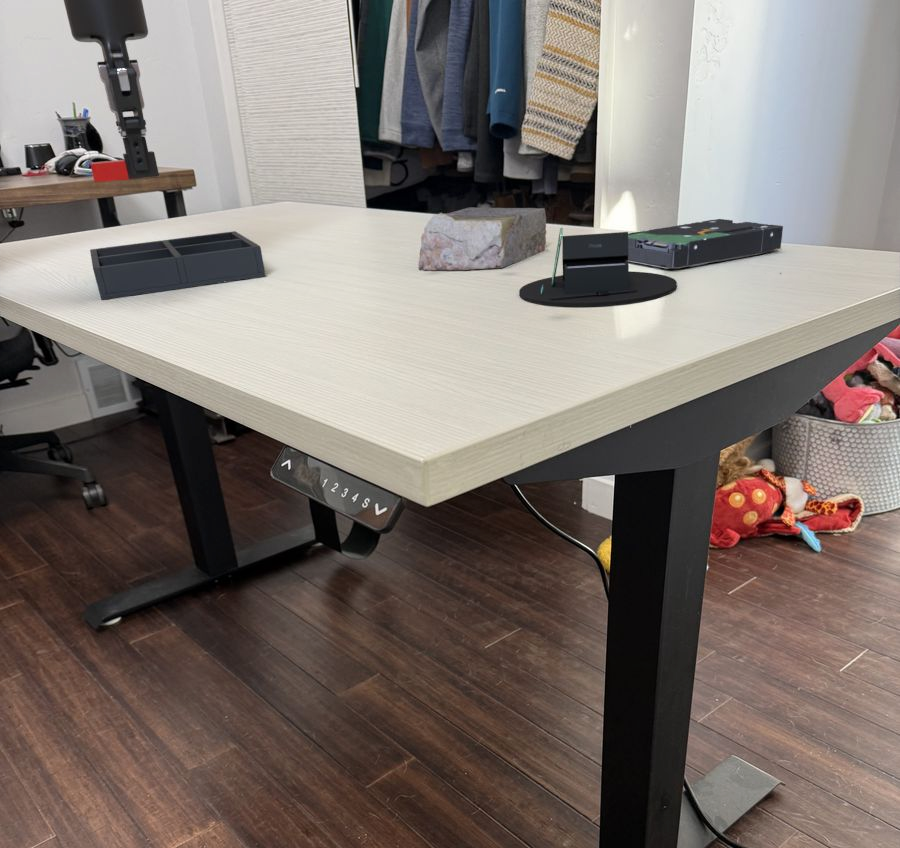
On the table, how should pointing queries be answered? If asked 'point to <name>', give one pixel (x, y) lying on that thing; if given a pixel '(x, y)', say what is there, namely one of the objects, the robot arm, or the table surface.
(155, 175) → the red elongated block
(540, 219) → the geological specimen
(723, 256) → the disk drive
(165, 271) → the tray
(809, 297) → the table surface
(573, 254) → the black display stand
